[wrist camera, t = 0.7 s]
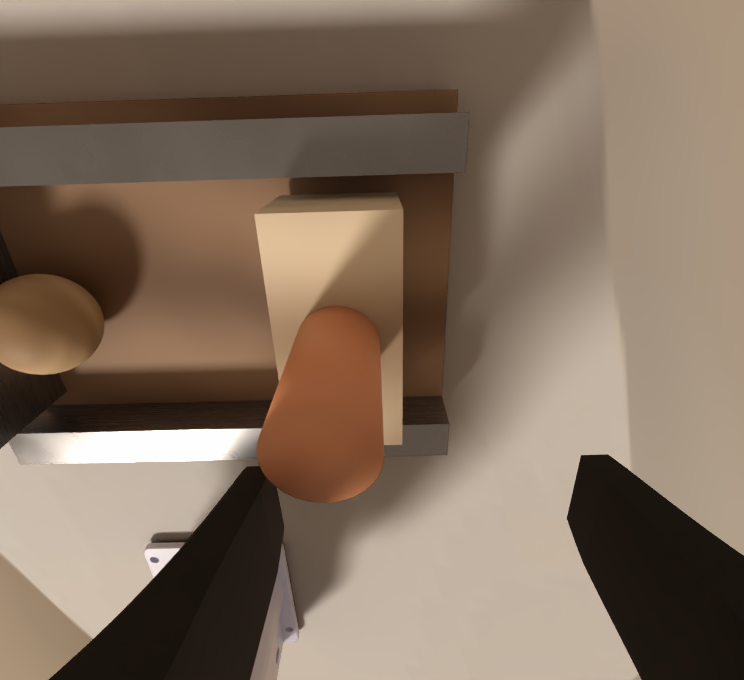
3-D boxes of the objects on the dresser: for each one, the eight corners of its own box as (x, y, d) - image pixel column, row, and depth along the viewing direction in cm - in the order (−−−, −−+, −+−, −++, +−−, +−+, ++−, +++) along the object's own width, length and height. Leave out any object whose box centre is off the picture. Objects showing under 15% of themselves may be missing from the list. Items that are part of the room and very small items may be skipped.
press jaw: (397, 388, 18) (415, 580, 10) (303, 390, 18) (253, 583, 10) (396, 191, 15) (423, 261, 7) (279, 195, 15) (177, 269, 7)
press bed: (436, 421, 21) (454, 505, 16) (33, 430, 21) (-62, 515, 16) (452, 92, 15) (489, 75, 10) (-120, 111, 15) (-343, 103, 10)
